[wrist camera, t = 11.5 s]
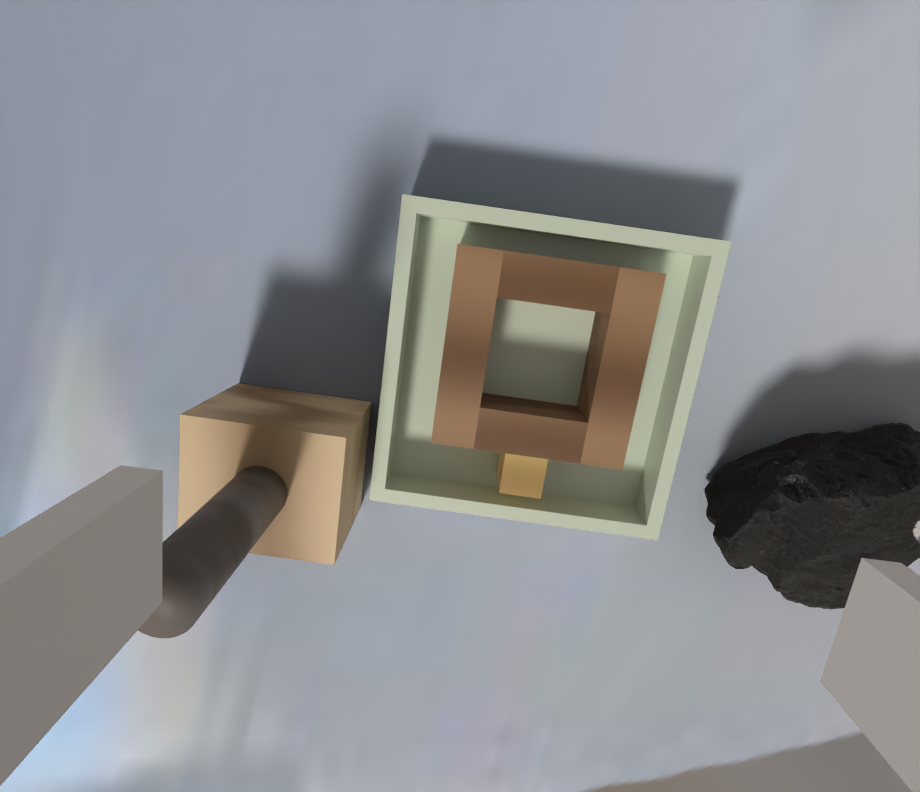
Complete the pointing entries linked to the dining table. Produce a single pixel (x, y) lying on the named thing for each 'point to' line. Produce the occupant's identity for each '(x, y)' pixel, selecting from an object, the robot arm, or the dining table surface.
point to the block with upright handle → (258, 490)
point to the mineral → (820, 509)
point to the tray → (538, 366)
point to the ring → (538, 422)
